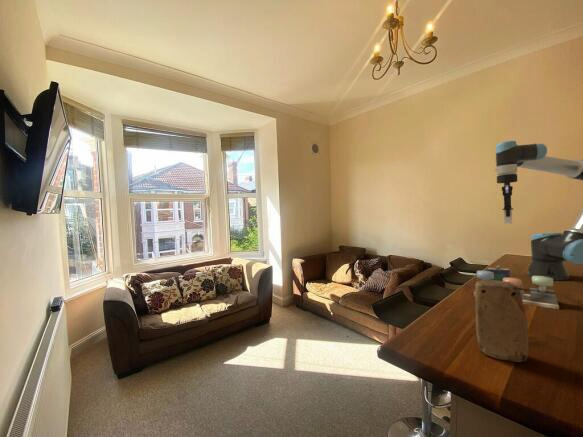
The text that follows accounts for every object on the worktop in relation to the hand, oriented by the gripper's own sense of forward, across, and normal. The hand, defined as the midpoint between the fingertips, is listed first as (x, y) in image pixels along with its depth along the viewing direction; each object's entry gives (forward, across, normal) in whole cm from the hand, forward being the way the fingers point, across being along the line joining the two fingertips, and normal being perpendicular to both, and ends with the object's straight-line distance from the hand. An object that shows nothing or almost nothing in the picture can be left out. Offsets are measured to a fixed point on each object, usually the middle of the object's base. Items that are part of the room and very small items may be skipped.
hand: (508, 223), depth 121 cm
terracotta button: (+28, +21, +1) cm, 35 cm away
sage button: (+26, +21, +10) cm, 35 cm away
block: (+31, +72, -1) cm, 79 cm away
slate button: (+26, +21, -8) cm, 34 cm away
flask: (+31, +6, -4) cm, 31 cm away
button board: (+30, +21, +1) cm, 37 cm away
